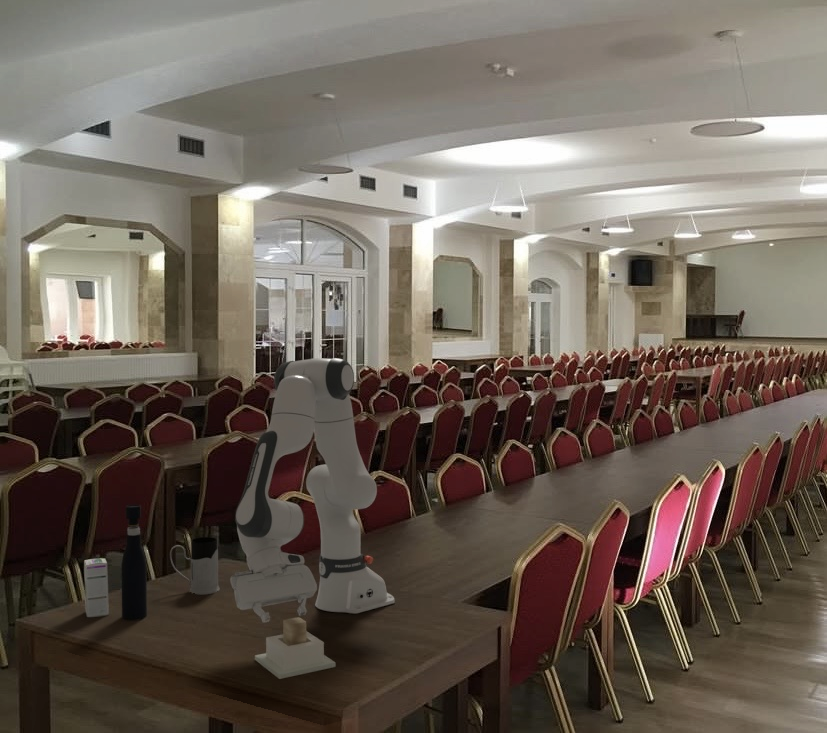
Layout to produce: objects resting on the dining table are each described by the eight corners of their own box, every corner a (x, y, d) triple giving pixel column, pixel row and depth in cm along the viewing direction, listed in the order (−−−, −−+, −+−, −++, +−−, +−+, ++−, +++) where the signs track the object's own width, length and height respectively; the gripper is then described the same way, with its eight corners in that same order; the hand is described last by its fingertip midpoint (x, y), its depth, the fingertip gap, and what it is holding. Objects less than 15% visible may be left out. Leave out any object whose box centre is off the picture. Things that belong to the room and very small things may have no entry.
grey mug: (219, 593, 272) (219, 542, 271) (169, 596, 269) (169, 544, 268) (219, 585, 280) (219, 535, 279) (171, 587, 277) (170, 538, 276)
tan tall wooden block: (299, 654, 219) (298, 617, 218) (306, 660, 215) (306, 621, 215) (283, 658, 217) (283, 619, 216) (290, 663, 213) (290, 624, 213)
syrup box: (109, 615, 251) (108, 562, 250) (86, 618, 249) (85, 564, 248) (106, 609, 256) (106, 557, 256) (84, 611, 254) (83, 559, 253)
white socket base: (308, 648, 226) (308, 626, 225) (335, 666, 214) (335, 643, 214) (254, 659, 218) (254, 636, 218) (279, 679, 206) (279, 654, 206)
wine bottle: (133, 621, 246) (132, 509, 244) (116, 617, 249) (115, 506, 248) (151, 615, 251) (150, 505, 250) (135, 611, 254) (134, 502, 253)
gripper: (231, 567, 221) (247, 618, 213) (308, 555, 232) (327, 603, 224) (224, 581, 225) (240, 632, 217) (301, 568, 236) (319, 616, 228)
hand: (285, 617), depth 221 cm, fingers open, 8 cm apart
